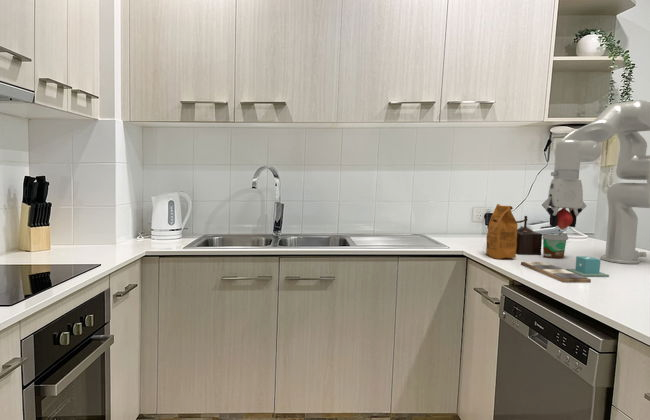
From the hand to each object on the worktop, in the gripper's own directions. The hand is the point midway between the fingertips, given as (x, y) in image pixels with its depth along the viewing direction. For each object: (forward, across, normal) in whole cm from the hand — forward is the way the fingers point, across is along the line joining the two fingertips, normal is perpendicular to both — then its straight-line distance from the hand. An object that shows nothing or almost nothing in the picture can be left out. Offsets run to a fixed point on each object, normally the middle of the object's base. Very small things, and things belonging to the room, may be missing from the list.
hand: (562, 226), depth 138 cm
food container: (+16, +14, +24) cm, 32 cm away
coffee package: (+16, -10, +24) cm, 31 cm away
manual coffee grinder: (+16, +3, +34) cm, 38 cm away
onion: (+1, 0, 0) cm, 1 cm away
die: (+16, +8, -4) cm, 18 cm away
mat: (+16, +8, -4) cm, 18 cm away
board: (+16, -4, -3) cm, 17 cm away
